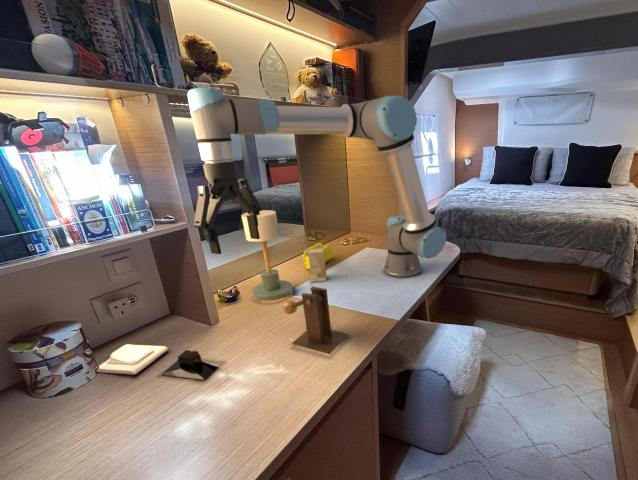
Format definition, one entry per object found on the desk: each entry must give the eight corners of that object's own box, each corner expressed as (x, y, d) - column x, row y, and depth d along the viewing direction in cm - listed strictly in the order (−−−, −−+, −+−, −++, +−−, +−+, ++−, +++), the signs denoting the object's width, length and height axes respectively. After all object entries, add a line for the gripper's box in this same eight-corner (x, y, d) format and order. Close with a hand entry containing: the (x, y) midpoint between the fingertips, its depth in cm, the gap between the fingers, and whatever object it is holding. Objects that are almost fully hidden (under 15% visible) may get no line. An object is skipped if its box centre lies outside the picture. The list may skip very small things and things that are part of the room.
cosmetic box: (310, 282, 133) (307, 253, 128) (311, 278, 137) (307, 249, 132) (327, 280, 134) (324, 251, 129) (327, 276, 138) (323, 248, 133)
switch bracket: (292, 348, 92) (283, 295, 86) (313, 329, 100) (306, 281, 94) (329, 357, 87) (323, 303, 81) (348, 338, 96) (344, 287, 89)
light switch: (126, 337, 95) (164, 338, 92) (132, 349, 96) (169, 351, 93) (89, 360, 85) (129, 363, 82) (95, 374, 87) (136, 377, 83)
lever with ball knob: (284, 317, 94) (277, 306, 93) (293, 311, 97) (286, 300, 96) (318, 305, 86) (311, 292, 86) (326, 299, 89) (319, 286, 89)
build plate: (222, 363, 87) (219, 348, 86) (204, 382, 81) (199, 366, 79) (181, 358, 90) (177, 343, 88) (160, 376, 83) (154, 360, 82)
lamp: (271, 285, 133) (257, 208, 121) (300, 290, 127) (289, 210, 115) (245, 300, 121) (226, 217, 109) (275, 306, 116) (260, 219, 104)
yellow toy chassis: (322, 257, 160) (320, 240, 157) (333, 259, 158) (331, 241, 155) (304, 270, 146) (301, 251, 143) (315, 271, 144) (313, 252, 141)
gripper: (245, 157, 94) (259, 232, 102) (160, 166, 73) (186, 258, 82) (266, 157, 91) (278, 234, 99) (183, 166, 70) (208, 262, 79)
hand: (237, 245), depth 91 cm, fingers open, 13 cm apart
